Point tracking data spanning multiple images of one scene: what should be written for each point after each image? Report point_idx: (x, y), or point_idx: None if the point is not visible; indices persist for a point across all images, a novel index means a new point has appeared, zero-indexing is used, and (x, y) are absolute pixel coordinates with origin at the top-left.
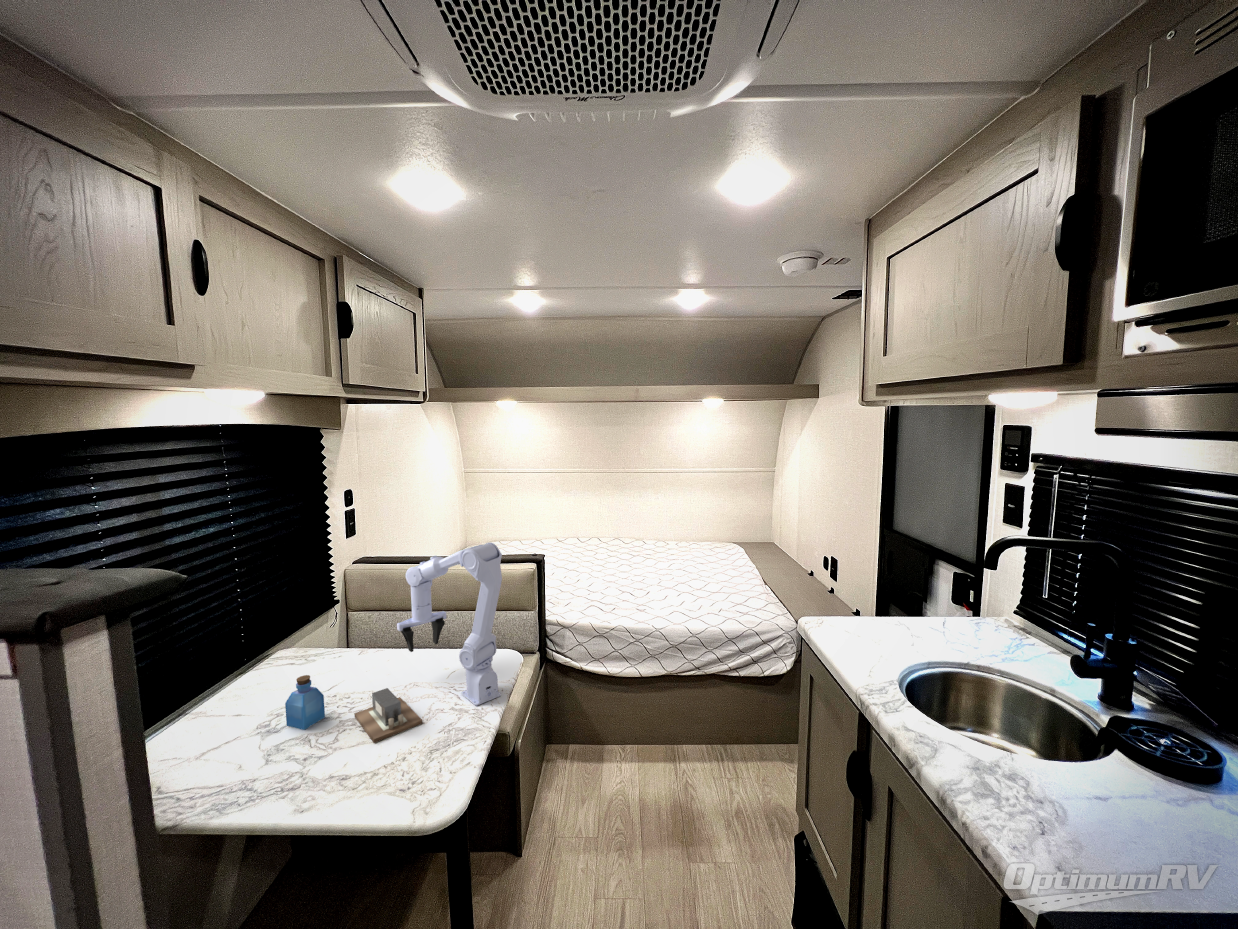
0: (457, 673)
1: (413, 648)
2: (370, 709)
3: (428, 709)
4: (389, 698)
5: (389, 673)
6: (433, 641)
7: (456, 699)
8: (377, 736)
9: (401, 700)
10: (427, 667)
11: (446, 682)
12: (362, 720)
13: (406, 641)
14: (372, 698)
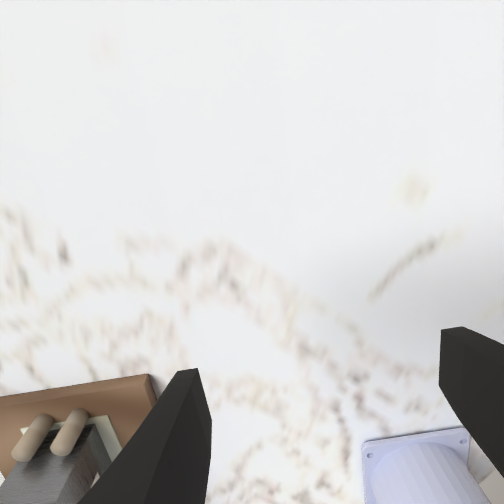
0: (430, 277)
1: (210, 457)
2: (26, 414)
3: (233, 470)
4: None
5: (110, 36)
6: (449, 340)
7: (334, 460)
8: None
9: (147, 412)
10: (335, 103)
11: (353, 331)
12: (5, 467)
13: (127, 456)
14: (1, 487)
